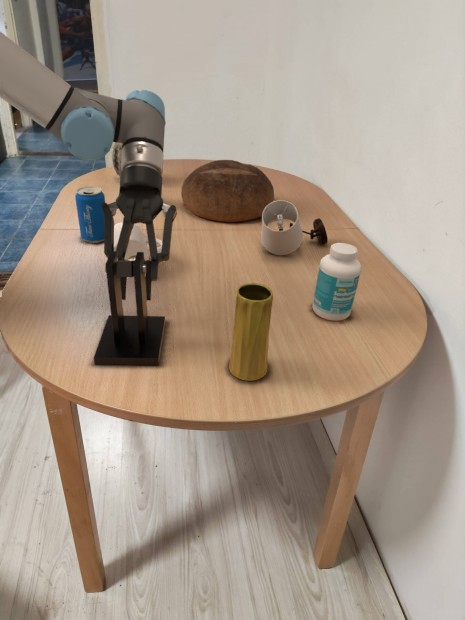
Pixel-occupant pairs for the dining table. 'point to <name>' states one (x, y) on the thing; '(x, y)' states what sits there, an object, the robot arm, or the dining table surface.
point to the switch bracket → (129, 322)
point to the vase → (251, 331)
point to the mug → (135, 242)
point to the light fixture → (289, 238)
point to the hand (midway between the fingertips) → (134, 298)
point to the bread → (227, 191)
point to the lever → (126, 267)
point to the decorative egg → (117, 157)
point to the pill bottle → (337, 282)
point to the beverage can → (90, 213)
